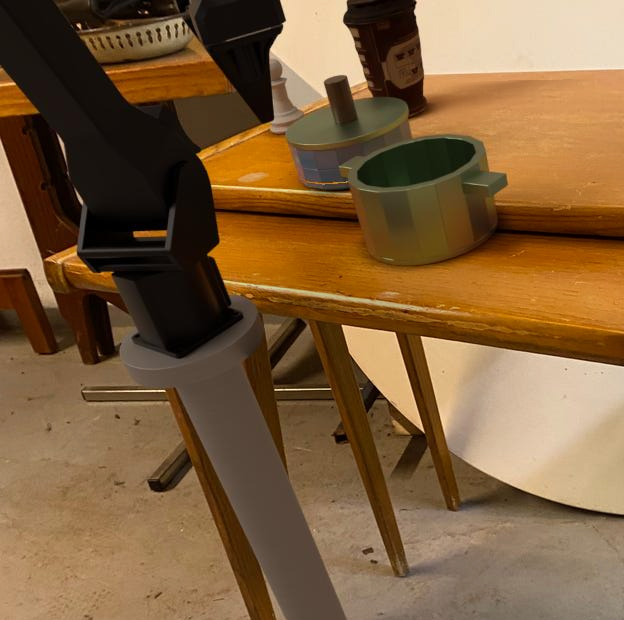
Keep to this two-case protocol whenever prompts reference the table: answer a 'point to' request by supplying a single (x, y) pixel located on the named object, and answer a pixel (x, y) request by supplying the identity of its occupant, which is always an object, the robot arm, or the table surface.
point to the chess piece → (281, 101)
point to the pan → (341, 158)
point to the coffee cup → (389, 49)
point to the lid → (346, 119)
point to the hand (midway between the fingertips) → (257, 108)
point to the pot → (424, 198)
